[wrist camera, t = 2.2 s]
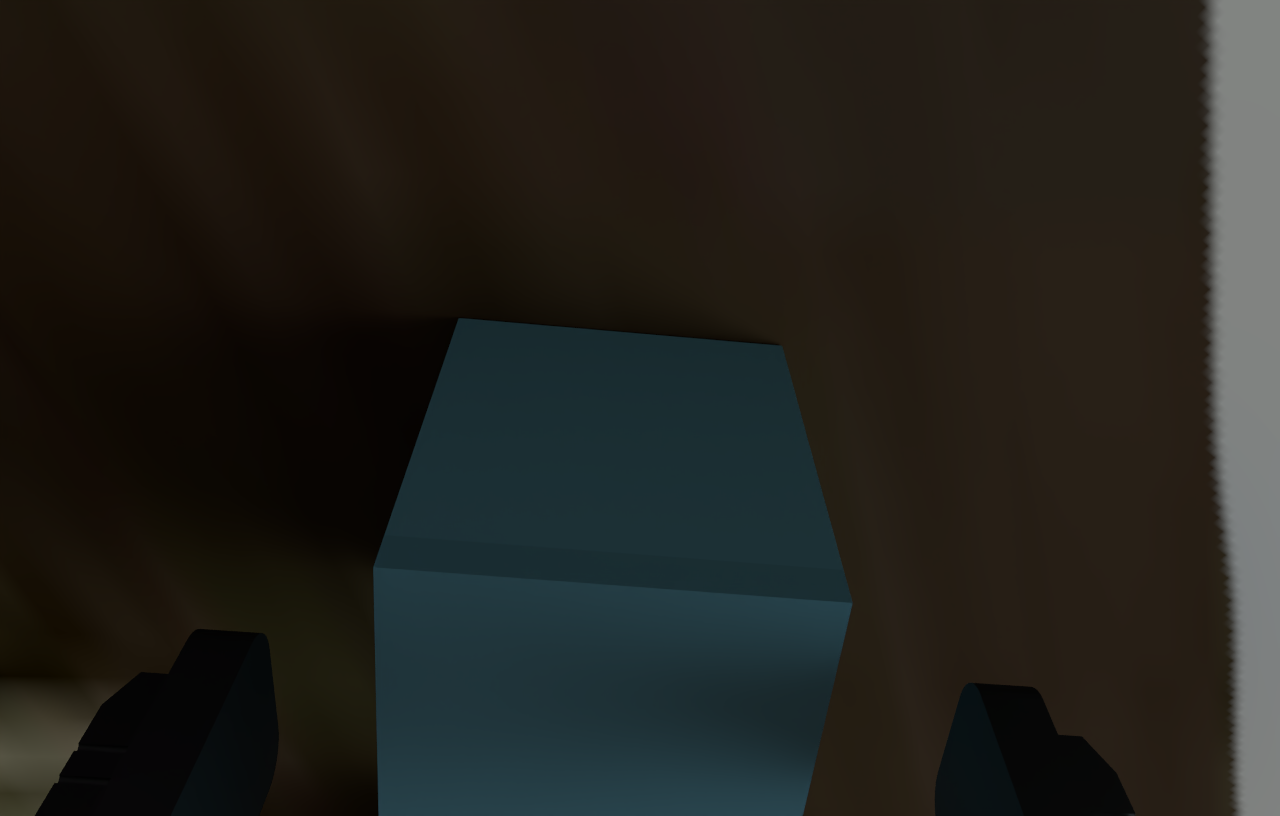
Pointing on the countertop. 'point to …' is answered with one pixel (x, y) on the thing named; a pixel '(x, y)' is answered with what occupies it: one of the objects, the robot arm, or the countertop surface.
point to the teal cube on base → (606, 583)
